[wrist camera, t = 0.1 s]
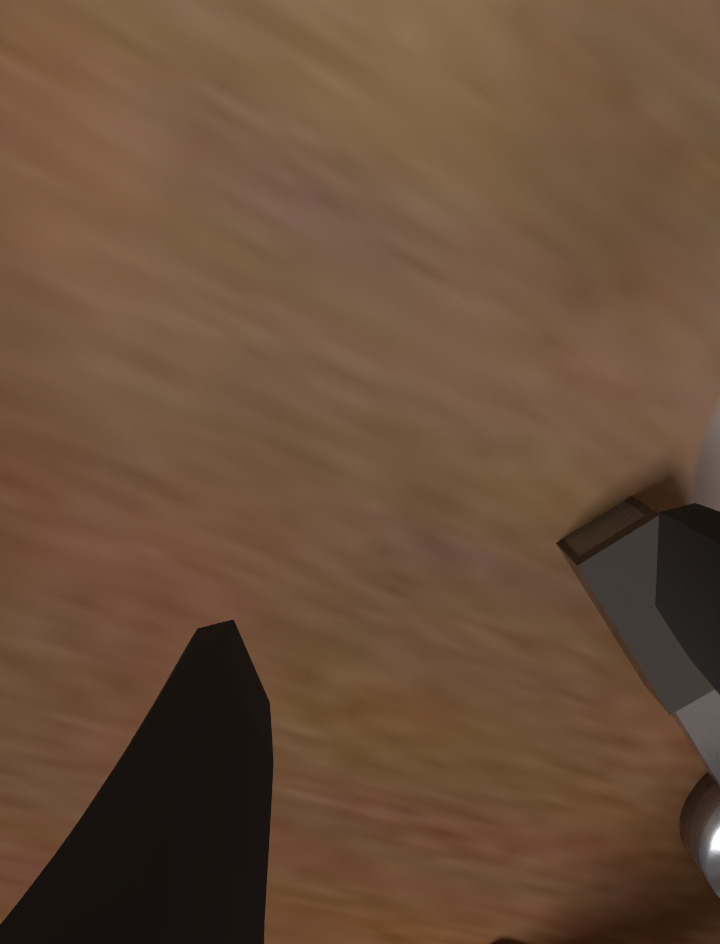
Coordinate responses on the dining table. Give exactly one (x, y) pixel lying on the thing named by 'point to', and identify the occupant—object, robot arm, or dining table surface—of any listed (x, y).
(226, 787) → the robot arm
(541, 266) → the dining table surface
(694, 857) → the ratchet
